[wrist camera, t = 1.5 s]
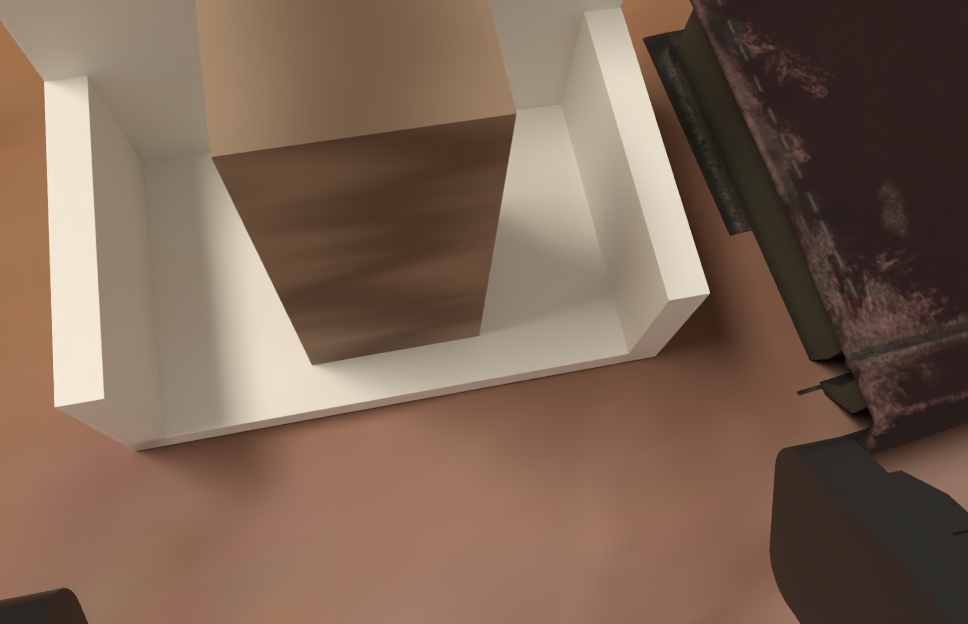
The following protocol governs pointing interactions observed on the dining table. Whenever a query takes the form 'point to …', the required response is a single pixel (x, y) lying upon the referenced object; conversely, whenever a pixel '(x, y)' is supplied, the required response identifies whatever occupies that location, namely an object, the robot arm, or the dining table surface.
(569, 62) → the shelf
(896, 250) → the diary
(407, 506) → the dining table surface
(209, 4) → the block
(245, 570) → the dining table surface
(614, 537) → the dining table surface
